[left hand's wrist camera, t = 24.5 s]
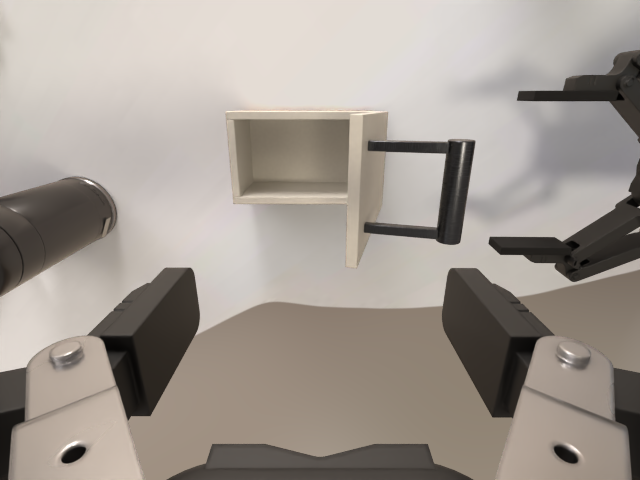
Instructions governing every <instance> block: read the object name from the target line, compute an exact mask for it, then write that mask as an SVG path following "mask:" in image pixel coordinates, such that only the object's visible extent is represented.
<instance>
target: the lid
mask: <svg viewBox="0 0 640 480" xmlns="http://www.w3.org/2000/svg"><path fill="white" fill-rule="evenodd" d="M387 121H388V112H370V113H359V114H350V130H349V164H348V198H347V232H346V267H349V268H357V266H358V264H359V261H360V259H361V256H362V254H363V251H364V249H365V246H366V244H367V241H368V239H369V236H370V234H371V233H372V234H384V235H395V236H407V237H418V238H429V239H436V241H438V242H439V243H442V244H448V245H455V244H459V243H460V240H461V234H462V227H463V221H464V214H465V207H466V201H467V194H468V188H469V181H470V175H471V168H472V161H473V155H474V148H475V140H468V139H450V140H448V142H434V141H391V140H386V136H387ZM385 152H413V153H445V154H446V160H445V168H444V176H443V184H442V192H441V200H440V208H439V216H438V224H437V228H436V227H423V226H411V225H398V224H386V223H375V221H376V219H377V216H378V214H379V211H380V209H381V206H382V198H383V182H384V167H385Z"/></svg>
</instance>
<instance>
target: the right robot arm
mask: <svg viewBox="0 0 640 480" xmlns="http://www.w3.org/2000/svg"><path fill="white" fill-rule="evenodd" d="M613 64H614V67H613V69H612V70H611V71H610V72H609V73H608V74H606V75H581V76H572V77H569V78H567V79H566V81H565V85H564V89H563V91H519V93H518V98H517V101H609V102H610V103H611V104H612V105H613V106H614V108H615V109H616V110H617V111H618V113H619V114H620V115H621V116H622V117H623V119H624V120H625V121H626V122H627V123H628V125H629V126H630V127H631V128H632V130H633V131H634V132H635V133H636V134H637V136H638V137H639V139H638V142H639V143H640V50H636V51H629V52H623V53H620V54H618V55H617V56H616V57H615V59H614V62H613ZM629 192H631V194H632V195H630V196H628V197H627V198H625V199H624V200H622V201H620V202H619V203H617V204H616V206H615V207H616V208H615V209H614V210H612V211H611V212H609V213H608V214H606V215H604V216H603V217H601V218H600V219H598V220H596V221H595V222H593V223H592V224H590V225H588V226H587V227H585V228H584V229H582V230H580V231H579V232H577V233H576V234H574V235H572V236H571V237H569V238H568V239H566V240H564V241H563V242H561V241H560V240H558V239H557V238H555V237H490V239H489V245H491V246H492V247H493V248H494V249H495V250H496V251H497V252H498V253H499V254H500V255H524V256H525V257H526V258H527V259H528V260H530V261H531V262H534V263H556V264H555V269H556V270H557V271H559V272H560V273H561V274H563V275H564V276H565V277H566V278H568V279H569V280H570V281H572V282H576V281H579V280H582V279H585V278H587V277H590V276H593V275H595V274H598V273H601V272H604V271H606V270H609V269H612V268H614V267H617V266H620V265H622V264H625V263H628V262H630V261H633V260H636V259H639V258H640V229H639V232H637V233H632V234H628V233H630V232H632V231H633V230H635V229H637V228H638V227H640V208H637V207H638V206H640V159H639V162H638V165H637V172H636V176H635V178H634V180H633V181H632V183H631V185H630V188H629ZM627 234H628V235H627Z"/></svg>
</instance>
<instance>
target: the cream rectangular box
mask: <svg viewBox="0 0 640 480" xmlns="http://www.w3.org/2000/svg"><path fill="white" fill-rule="evenodd" d="M370 112H382V111H226V119H227V120H226V123H227V135H228V146H229V157H230V169H231V180H232V191H233V203H234V204H347V198H348V164H349V130H350V114H359V113H370Z"/></svg>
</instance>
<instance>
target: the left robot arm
mask: <svg viewBox="0 0 640 480" xmlns="http://www.w3.org/2000/svg"><path fill="white" fill-rule="evenodd" d="M115 222H116V208H115V205H114V202H113V200H112V198H111V197H110V195H109V194H108V193H107V192H106V190H105V189H103V188H102V187H101V186H100V185H99V184H97V183H95V182H94V181H92V180H89V179H86V178H82V177H69V178H65V179H62V180H59V181H57V182H54V183H50V184H46V185H42V186H39V187H35V188H32V189H28V190H24V191H21V192H17V193H14V194H10V195H7V196H3V197H0V297H1V296H3V295H4V294H6V293H8V292H9V291H11V290H13V289H15V288H16V287H18V286H20V285H21V284H23V283H25V282H26V281H28V280H30V279H31V278H33V277H35V276H36V275H38V274H40V273H41V272H43V271H45V270H46V269H48V268H50V267H51V266H53V265H55V264H57V263H58V262H60V261H62V260H63V259H65V258H67V257H68V256H70V255H72V254H73V253H75V252H77V251H79V250H80V249H82V248H84V247H85V246H87V245H89V244H91V243H92V242H94V241H96V240H98V239H100V238H103V237H105V236H106V235H107V234H108V233H109V232H110V231H111V230H112V229H113V227H114V225H115ZM199 320H200V311H199V304H198V297H197V289H196V282H195V276H194V272H193V270H192V269H191V268H165V269H164V270H163V271H162V272H161V273H160V274H159V275H158V276H157V277H156V278H155V279H154V280H153V281H152V282H151V283H147V284H145V285H143V286H141V287H139V288H137V289H136V290H134V291H132V292H131V293H130V294H129V295H128V296H127V297H126V298H125V299H124V300H123V301H122V303H120V304H119V305H118V306H117V307H116V308H115V309H114V311H112V312H111V313H110V314H109V315H107V316H106V317H105V318H104V319H103V320H102V321H101V322H100V323H99V324H98V325H97V326H96V327H95V328H94V329H93V330H92V331H91V332H90V333H89V334H88V335H87V336H77V337H72V338H68V339H65V340H62V341H59V342H57V343H54V344H52V345H50V346H48V347H46V348H45V349H43V350H41V351H40V352H39V353H37V354H36V355H35V356H34V357H33V358H32V359H31V360H30V361H29V363H28V365H27V367H26V368H21V369H15V370H10V371H5V372H0V480H145V477H144V474H143V471H142V467H141V464H140V461H139V457H138V454H137V451H136V447H135V444H134V440H133V437H132V433H131V430H130V427H129V423H128V420H129V419H130V417H131V416H151V414H152V412H153V410H154V408H155V407H156V405H157V403H158V401H159V399H160V397H161V396H162V394H163V392H164V390H165V388H166V387H167V385H168V383H169V381H170V379H171V378H172V376H173V374H174V372H175V370H176V368H177V367H178V365H179V363H180V361H181V359H182V357H183V356H184V354H185V352H186V350H187V348H188V347H189V345H190V343H191V341H192V339H193V338H194V336H195V334H196V332H197V330H198V326H199ZM442 322H443V327H444V331H445V333H446V335H447V337H448V338H449V340H450V342H451V344H452V345H453V347H454V349H455V351H456V353H457V354H458V356H459V358H460V360H461V362H462V363H463V365H464V367H465V369H466V371H467V372H468V374H469V376H470V378H471V380H472V381H473V383H474V385H475V387H476V389H477V390H478V392H479V394H480V396H481V398H482V399H483V401H484V403H485V405H486V407H487V408H488V410H489V412H490V414H491V415H492V417H512V418H513V420H512V424H511V427H510V430H509V434H508V437H507V440H506V444H505V447H504V450H503V454H502V457H501V460H500V464H499V467H498V471H497V474H496V477H495V480H640V373H637V372H632V371H627V370H622V369H617V368H613V365H612V363H611V361H610V360H609V359H608V358H607V357H606V356H605V355H604V354H603V353H601V352H600V351H599V350H597V349H595V348H594V347H592V346H590V345H588V344H586V343H583V342H581V341H578V340H575V339H572V338H568V337H563V336H555V335H554V334H553V333H552V332H551V331H550V330H549V329H548V328H547V327H546V326H545V325H544V324H543V323H542V322H541V321H539V319H538V318H536V317H535V316H534V315H533V314H532V313H531V312H529V310H528V309H527V308H526V307H525V306H524V305H523V304H520V301H519V300H518V299H517V298H516V297H515V296H514V295H513V294H512V293H511V292H509V291H507V290H506V289H504V288H502V287H500V286H498V285H496V284H492V283H491V282H490V281H489V280H488V279H487V278H486V277H485V276H484V275H483V274H482V273H481V272H480V271H479V270H478V269H476V268H451V269H450V270H449V272H448V276H447V282H446V289H445V296H444V303H443V310H442ZM167 480H473V479H471V478H469V477H468V476H465V475H463V474H461V473H459V472H457V471H455V470H452V469H449V468H447V467H444V466H441V465H437V464H434V462H433V459H432V456H431V453H430V450H429V447H428V444H373V445H369V446H366V447H361V448H357V449H353V450H349V451H345V452H342V453H337V454H333V455H329V456H325V457H315V456H311V455H307V454H303V453H299V452H295V451H291V450H287V449H283V448H279V447H275V446H271V445H267V444H212V447H211V450H210V453H209V456H208V459H207V462H206V464H203V465H199V466H196V467H193V468H191V469H188V470H185V471H183V472H181V473H179V474H177V475H175V476H172V477H171V478H169V479H167Z"/></svg>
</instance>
